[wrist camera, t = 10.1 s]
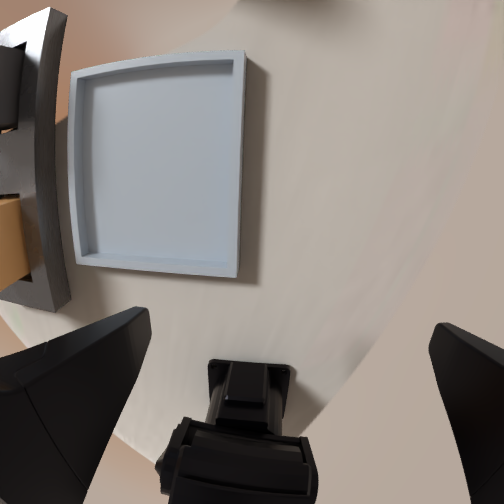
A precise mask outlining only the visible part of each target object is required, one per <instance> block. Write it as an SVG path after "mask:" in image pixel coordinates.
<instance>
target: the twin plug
mask: <svg viewBox="0 0 504 504" xmlns="http://www.w3.org/2000/svg"><path fill="white" fill-rule="evenodd" d="M24 57H25V51H24V50H20V49H16V48H11V47H7V46H2V45H0V130H8V129H11V128H15V127H18V116H19V100H20V89H21V79H22V71H23V64H24Z"/></svg>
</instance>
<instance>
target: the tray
mask: <svg viewBox="0 0 504 504" xmlns="http://www.w3.org/2000/svg"><path fill="white" fill-rule="evenodd" d="M246 65H247V56H246V53H245V50H223V51H201V52H186V53H175V54H166V55H157V56H149V57H142V58H136V59H129V60H124V61H118V62H113V63H108V64H103V65H98V66H93V67H89V68H85V69H81V70H77V71H73V72H71V80H70V92H69V106H68V135H67V158H68V187H69V203H70V215H71V225H72V234H73V243H74V250H75V257H76V264H81V265H91V266H101V267H111V268H122V269H132V270H143V271H155V272H167V273H179V274H191V275H204V276H217V277H231V278H236V277H237V274H238V271H239V253H240V220H241V189H242V161H243V135H244V110H245V87H246Z"/></svg>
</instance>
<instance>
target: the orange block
mask: <svg viewBox="0 0 504 504" xmlns="http://www.w3.org/2000/svg"><path fill="white" fill-rule="evenodd" d="M30 272H31V271H30V266H29V260H28V255H27V249H26V243H25V236H24V229H23V221H22V213H21V203H20V195H12V196H5V197H2V198H0V292H1V291H2V290H4V289H5V288H7V287H8V286H10V285H11V284H13V283H14V282H16V281H17V280H19V279H20V278H22V277H23V276H25V275H27V274H28V273H30Z"/></svg>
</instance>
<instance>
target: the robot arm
mask: <svg viewBox="0 0 504 504" xmlns="http://www.w3.org/2000/svg"><path fill="white" fill-rule="evenodd" d="M151 335H152V331H151V323H150V315H149V311H148V309H147V308H144V307H137V306H136V307H132V308H130V309H127V310H125V311H122V312H120V313H117V314H115V315H112V316H110V317H107V318H105V319H102V320H100V321H97V322H95V323H92V324H90V325H87V326H85V327H82V328H80V329H77V330H75V331H72V332H70V333H67V334H64V335H62V336H59V337H57V338H54V339H52V340H49V341H48V342H44V343H41V344H39V345H36V346H34V347H31V348H28V349H26V350H23V351H20V352H17V353H14V354H11V355H8V356H4V357H1V358H0V504H83V502H84V499H85V497H86V494H87V490H88V489H89V486H90V484H91V481H92V479H93V477H94V474H95V472H96V469H97V467H98V465H99V462H100V460H101V458H102V455H103V453H104V451H105V448H106V446H107V444H108V441H109V439H110V437H111V435H112V432H113V430H114V428H115V426H116V423H117V421H118V419H119V417H120V415H121V412H122V410H123V408H124V406H125V404H126V401H127V399H128V397H129V395H130V393H131V391H132V389H133V386H134V384H135V382H136V380H137V378H138V375H139V372H140V369H141V366H142V363H143V360H144V357H145V354H146V351H147V348H148V345H149V343H150V340H151ZM429 354H430V358H431V361H432V365H433V369H434V373H435V377H436V381H437V385H438V388H439V391H440V394H441V397H442V400H443V403H444V406H445V409H446V411H447V415H448V418H449V421H450V424H451V427H452V430H453V434H454V437H455V440H456V444H457V447H458V451H459V454H460V458H461V461H462V465H463V469H464V473H465V477H466V482H467V486H468V490H469V495H470V500H471V504H504V349H502V348H500V347H498V346H496V345H494V344H492V343H489V342H488V341H486V340H483V339H481V338H479V337H477V336H475V335H473V334H471V333H469V332H467V331H465V330H463V329H461V328H459V327H457V326H454V325H452V324H450V323H438V324H437V325H436V326H435V329H434V332H433V335H432V337H431V340H430V343H429ZM213 365H216V366H213ZM282 370H286V371H285V372H283V371H282ZM289 379H290V367H289V366H288V365H283V364H266V363H251V362H239V361H228V360H218V359H212V360H210V361H209V363H208V380H209V396H210V405H209V409H208V413H207V417H206V421H205V423H204V422H200V421H196V420H192V418H188V417H184V418H183V420H182V422H181V424H178V426H177V428H176V429H174V430H173V433H172V436H171V439H170V442H169V444H168V446H167V448H166V449H165V451H164V452H163V453H162V455H161V456H160V457H159V459H158V460H157V462H156V465H155V470H156V471H157V473H158V474H159V476H160V483H161V494H165V495H168V496H169V502H168V504H315V501H316V497H317V493H318V472H317V468H316V465H315V461H314V458H313V454H312V451H311V448H310V444H309V441H308V438H307V437H301V436H300V437H299V438H298V437H289V436H282V419H283V417H284V411H285V405H286V399H287V392H288V386H289Z"/></svg>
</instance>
